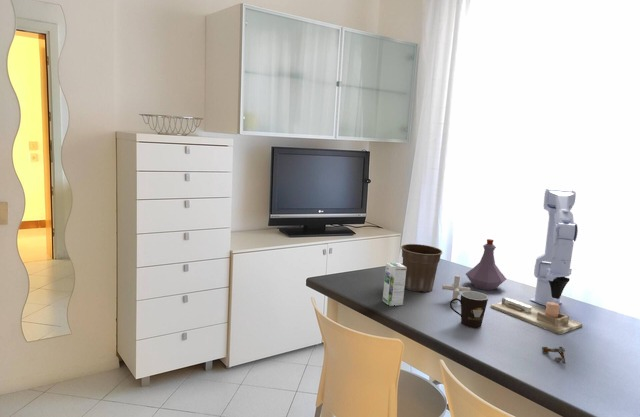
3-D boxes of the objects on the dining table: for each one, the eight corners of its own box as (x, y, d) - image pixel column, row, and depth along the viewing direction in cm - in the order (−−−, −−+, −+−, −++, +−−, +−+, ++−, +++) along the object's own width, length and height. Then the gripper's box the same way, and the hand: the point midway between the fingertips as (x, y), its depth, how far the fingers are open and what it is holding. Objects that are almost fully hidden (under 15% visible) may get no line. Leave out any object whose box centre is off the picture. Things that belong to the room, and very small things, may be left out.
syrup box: (381, 300, 173) (385, 262, 170) (396, 299, 175) (399, 262, 172) (388, 306, 167) (392, 267, 165) (403, 305, 169) (407, 266, 167)
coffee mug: (484, 321, 158) (488, 293, 157) (484, 331, 150) (488, 301, 149) (449, 315, 162) (452, 287, 160) (447, 324, 154) (450, 295, 152)
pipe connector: (469, 308, 171) (472, 281, 169) (441, 304, 173) (444, 278, 171) (467, 298, 180) (469, 273, 179) (440, 295, 182) (443, 270, 181)
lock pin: (504, 302, 176) (505, 297, 175) (531, 312, 167) (531, 306, 167) (501, 303, 175) (502, 297, 174) (527, 313, 166) (528, 307, 166)
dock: (513, 301, 181) (514, 292, 180) (581, 326, 159) (583, 316, 159) (490, 307, 173) (491, 298, 172) (559, 334, 152) (560, 324, 151)
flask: (482, 278, 208) (487, 234, 205) (514, 290, 195) (520, 243, 191) (455, 282, 200) (461, 236, 197) (487, 295, 186) (493, 246, 183)
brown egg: (548, 317, 163) (550, 301, 162) (559, 322, 160) (562, 305, 159) (541, 319, 161) (544, 303, 160) (553, 324, 157) (555, 307, 156)
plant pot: (443, 287, 193) (447, 248, 190) (430, 297, 180) (434, 256, 177) (406, 278, 202) (410, 241, 199) (391, 287, 188) (394, 248, 185)
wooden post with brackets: (564, 364, 129) (561, 347, 130) (544, 362, 137) (541, 346, 138) (569, 363, 130) (567, 346, 131) (549, 361, 137) (546, 345, 138)
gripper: (558, 253, 164) (553, 290, 166) (539, 258, 154) (533, 298, 157) (580, 258, 159) (574, 296, 161) (561, 263, 149) (555, 304, 151)
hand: (555, 297), depth 158 cm, fingers closed
